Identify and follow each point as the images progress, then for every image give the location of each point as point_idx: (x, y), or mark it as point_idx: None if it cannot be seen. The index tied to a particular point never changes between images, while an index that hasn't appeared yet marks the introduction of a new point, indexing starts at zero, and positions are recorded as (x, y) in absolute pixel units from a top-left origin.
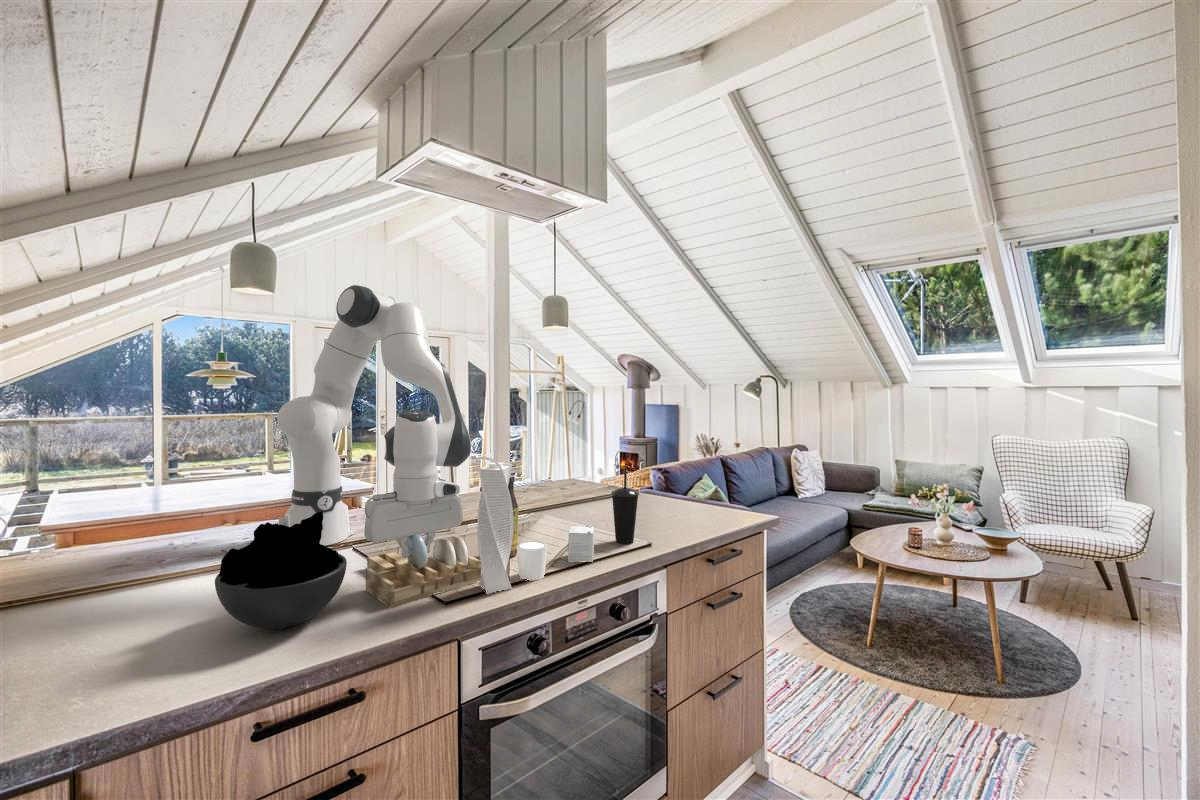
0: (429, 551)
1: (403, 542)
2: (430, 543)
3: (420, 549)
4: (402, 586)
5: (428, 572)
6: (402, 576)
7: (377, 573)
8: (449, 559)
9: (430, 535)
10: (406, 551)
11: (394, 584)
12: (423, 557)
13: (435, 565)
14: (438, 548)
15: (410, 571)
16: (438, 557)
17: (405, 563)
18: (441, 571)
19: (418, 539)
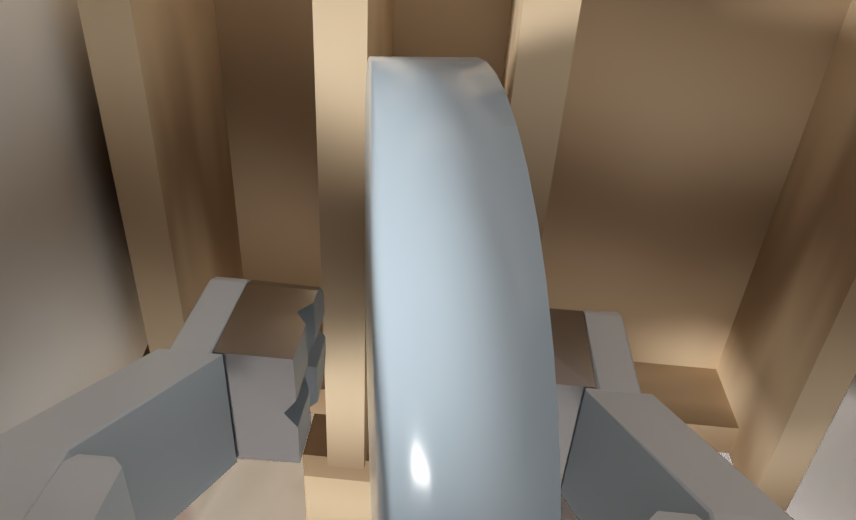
0: (222, 277)
1: (733, 513)
2: (156, 359)
3: (515, 155)
4: (570, 175)
5: (374, 23)
6: None
7: (829, 350)
8: (9, 34)
9: (86, 476)
10: (618, 369)
11: (587, 262)
12: (462, 63)
13: (187, 206)
14: (44, 360)
15: (553, 164)
16: (101, 286)
17: (358, 470)
18: (179, 58)
19: (504, 381)
